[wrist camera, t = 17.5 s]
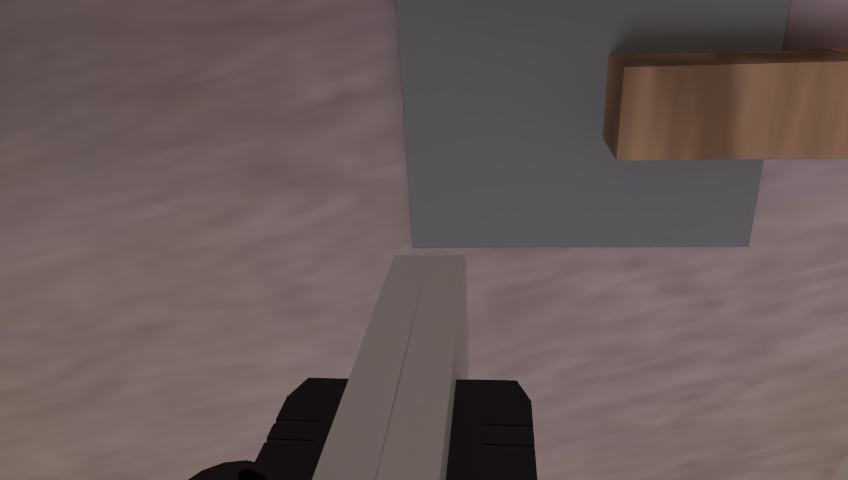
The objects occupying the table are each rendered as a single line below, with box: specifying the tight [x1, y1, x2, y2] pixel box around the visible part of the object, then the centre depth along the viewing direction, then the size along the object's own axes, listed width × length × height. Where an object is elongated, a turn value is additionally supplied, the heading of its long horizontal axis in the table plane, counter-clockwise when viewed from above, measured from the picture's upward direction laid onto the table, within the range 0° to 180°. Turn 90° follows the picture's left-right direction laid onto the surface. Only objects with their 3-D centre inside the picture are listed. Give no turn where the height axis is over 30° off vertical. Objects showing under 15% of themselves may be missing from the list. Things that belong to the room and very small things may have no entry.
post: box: [602, 48, 848, 161], centre depth 31 cm, size 4×4×12 cm
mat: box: [396, 0, 791, 248], centre depth 34 cm, size 20×18×1 cm
